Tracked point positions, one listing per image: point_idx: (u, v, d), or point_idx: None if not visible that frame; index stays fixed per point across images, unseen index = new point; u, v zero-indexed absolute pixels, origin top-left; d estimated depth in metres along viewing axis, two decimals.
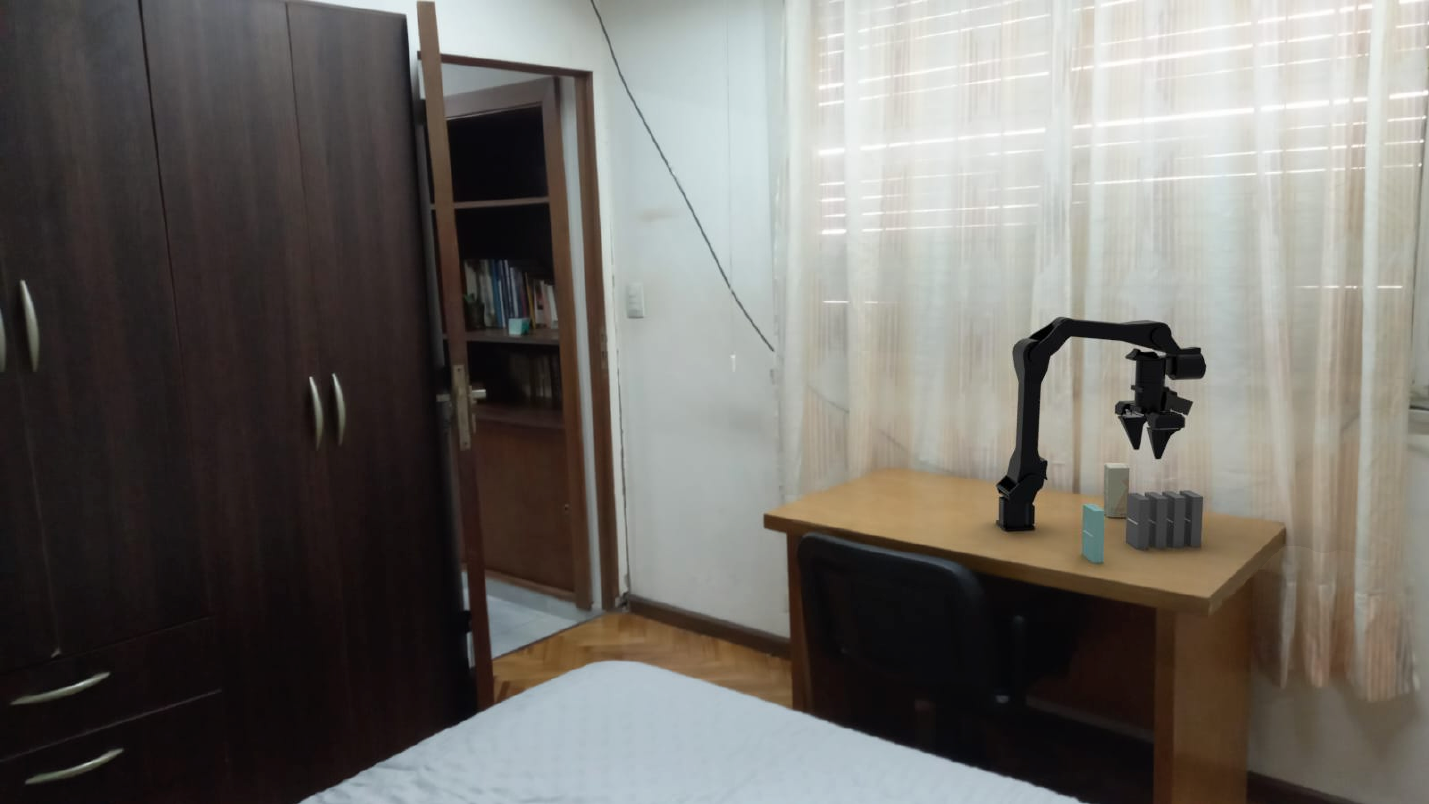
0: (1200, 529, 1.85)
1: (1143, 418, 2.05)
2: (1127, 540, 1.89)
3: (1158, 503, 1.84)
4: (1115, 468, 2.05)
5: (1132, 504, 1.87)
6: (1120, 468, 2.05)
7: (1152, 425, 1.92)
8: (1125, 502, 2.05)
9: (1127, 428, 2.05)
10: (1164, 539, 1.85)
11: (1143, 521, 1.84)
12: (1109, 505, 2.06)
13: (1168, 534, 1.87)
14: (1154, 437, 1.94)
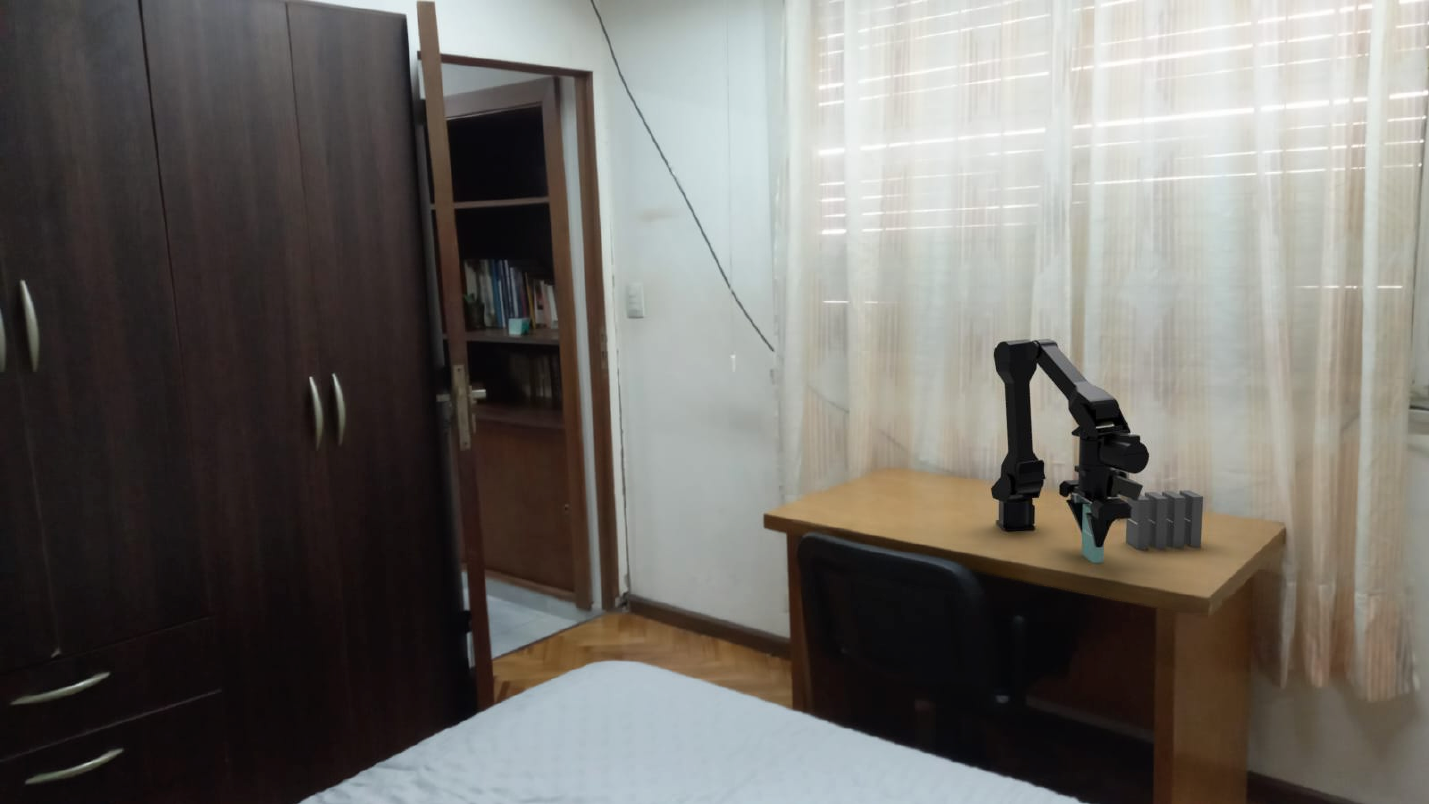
0: (1200, 529, 1.85)
1: None
2: (1127, 540, 1.89)
3: (1158, 503, 1.84)
4: None
5: (1132, 504, 1.87)
6: None
7: (1095, 515, 1.72)
8: None
9: (1076, 514, 1.83)
10: (1164, 539, 1.85)
11: (1143, 521, 1.84)
12: None
13: (1168, 534, 1.87)
14: (1094, 524, 1.76)
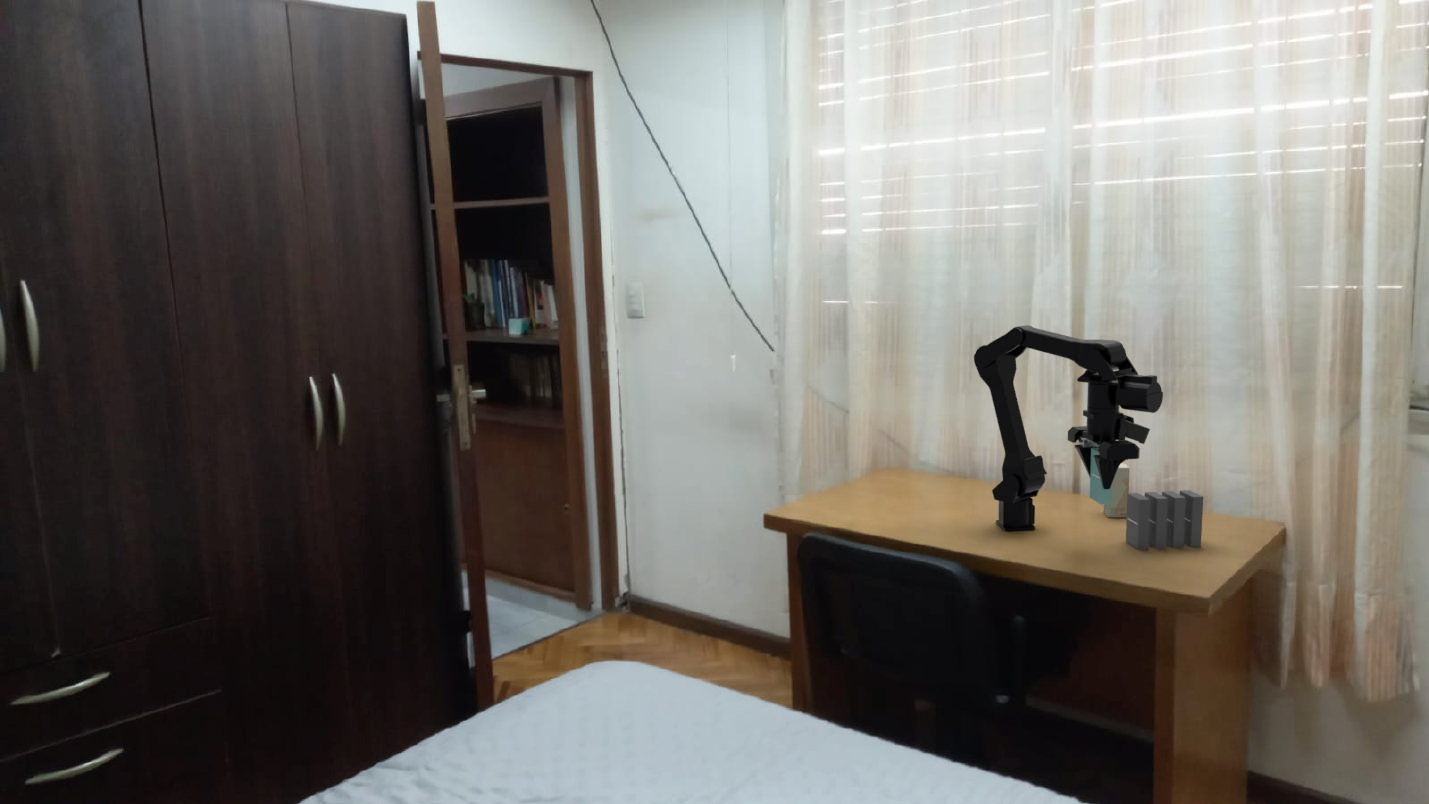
0: (1200, 529, 1.85)
1: None
2: (1127, 540, 1.89)
3: (1158, 503, 1.84)
4: None
5: (1132, 504, 1.87)
6: (1120, 468, 2.05)
7: (1104, 455, 1.77)
8: (1125, 502, 2.05)
9: (1084, 459, 1.88)
10: (1164, 539, 1.85)
11: (1143, 521, 1.84)
12: (1109, 505, 2.06)
13: (1168, 534, 1.87)
14: (1102, 466, 1.80)
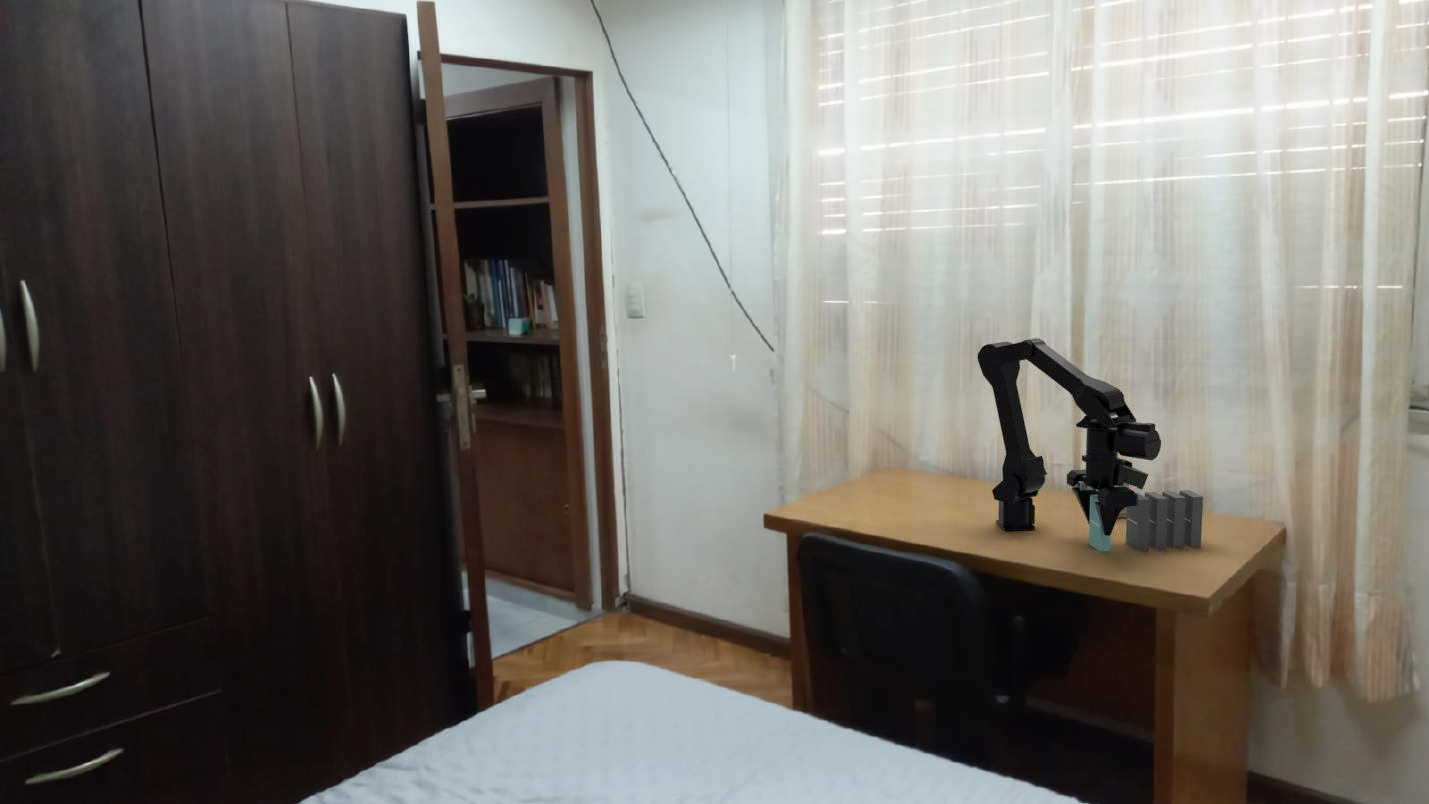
0: (1200, 529, 1.85)
1: None
2: (1127, 540, 1.89)
3: (1158, 503, 1.84)
4: None
5: None
6: None
7: (1102, 502, 1.78)
8: None
9: (1081, 502, 1.90)
10: (1164, 539, 1.85)
11: (1143, 521, 1.84)
12: None
13: (1168, 534, 1.87)
14: (1102, 513, 1.81)
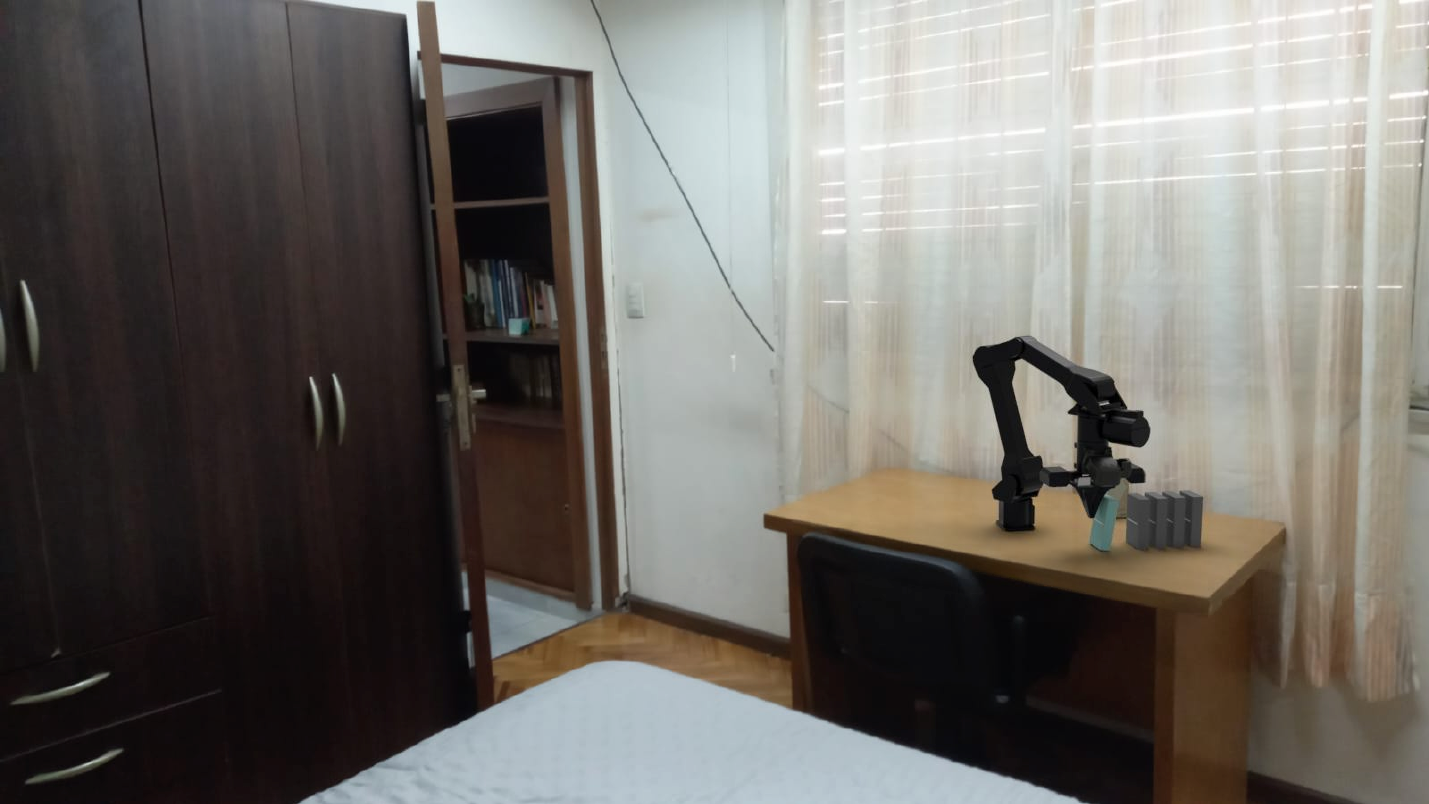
0: (1200, 529, 1.85)
1: (1098, 486, 1.84)
2: (1127, 540, 1.89)
3: (1158, 503, 1.84)
4: None
5: (1132, 504, 1.87)
6: None
7: None
8: (1125, 502, 2.05)
9: None
10: (1164, 539, 1.85)
11: (1143, 521, 1.84)
12: None
13: (1168, 534, 1.87)
14: (1077, 491, 1.87)
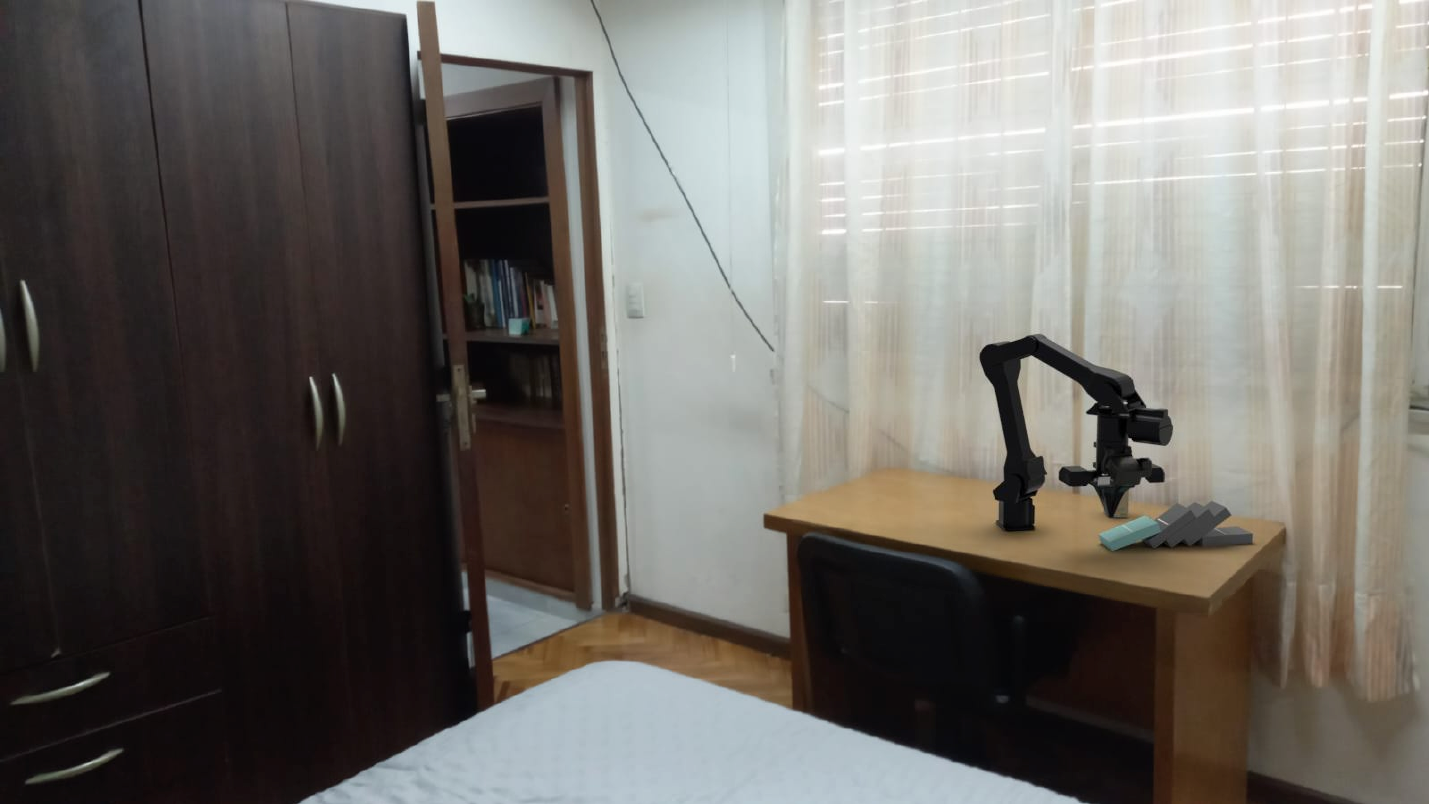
0: (1219, 544, 1.86)
1: (1118, 485, 1.84)
2: None
3: (1204, 512, 1.85)
4: None
5: (1175, 511, 1.88)
6: None
7: None
8: (1125, 502, 2.05)
9: None
10: (1178, 541, 1.85)
11: (1174, 527, 1.85)
12: None
13: None
14: (1096, 490, 1.88)
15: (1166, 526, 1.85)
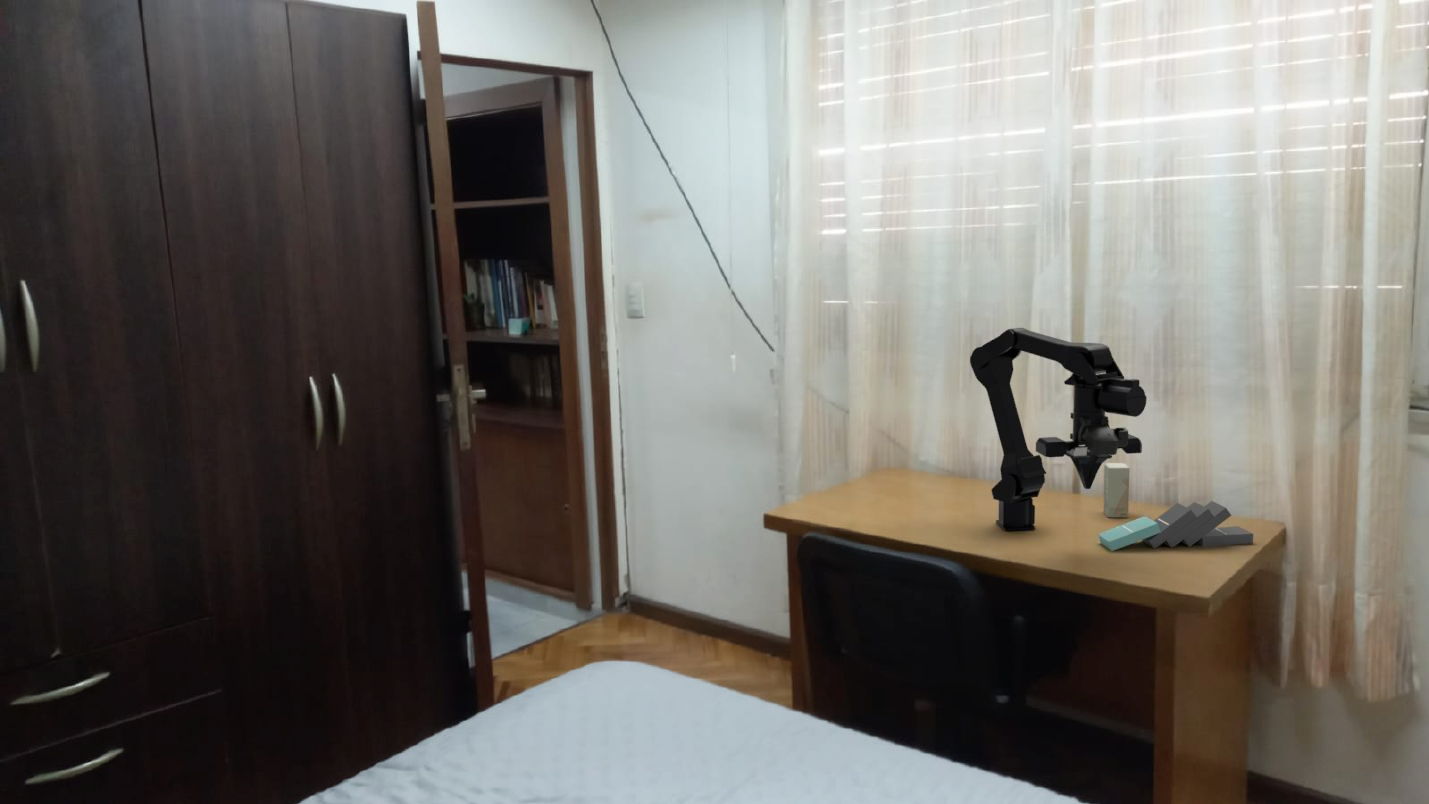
0: (1220, 544, 1.86)
1: (1095, 456, 1.83)
2: None
3: (1204, 512, 1.85)
4: (1115, 468, 2.05)
5: (1175, 511, 1.87)
6: (1120, 468, 2.05)
7: None
8: (1125, 502, 2.05)
9: None
10: (1178, 541, 1.85)
11: (1175, 527, 1.85)
12: (1109, 505, 2.06)
13: None
14: (1074, 462, 1.87)
15: (1166, 526, 1.85)
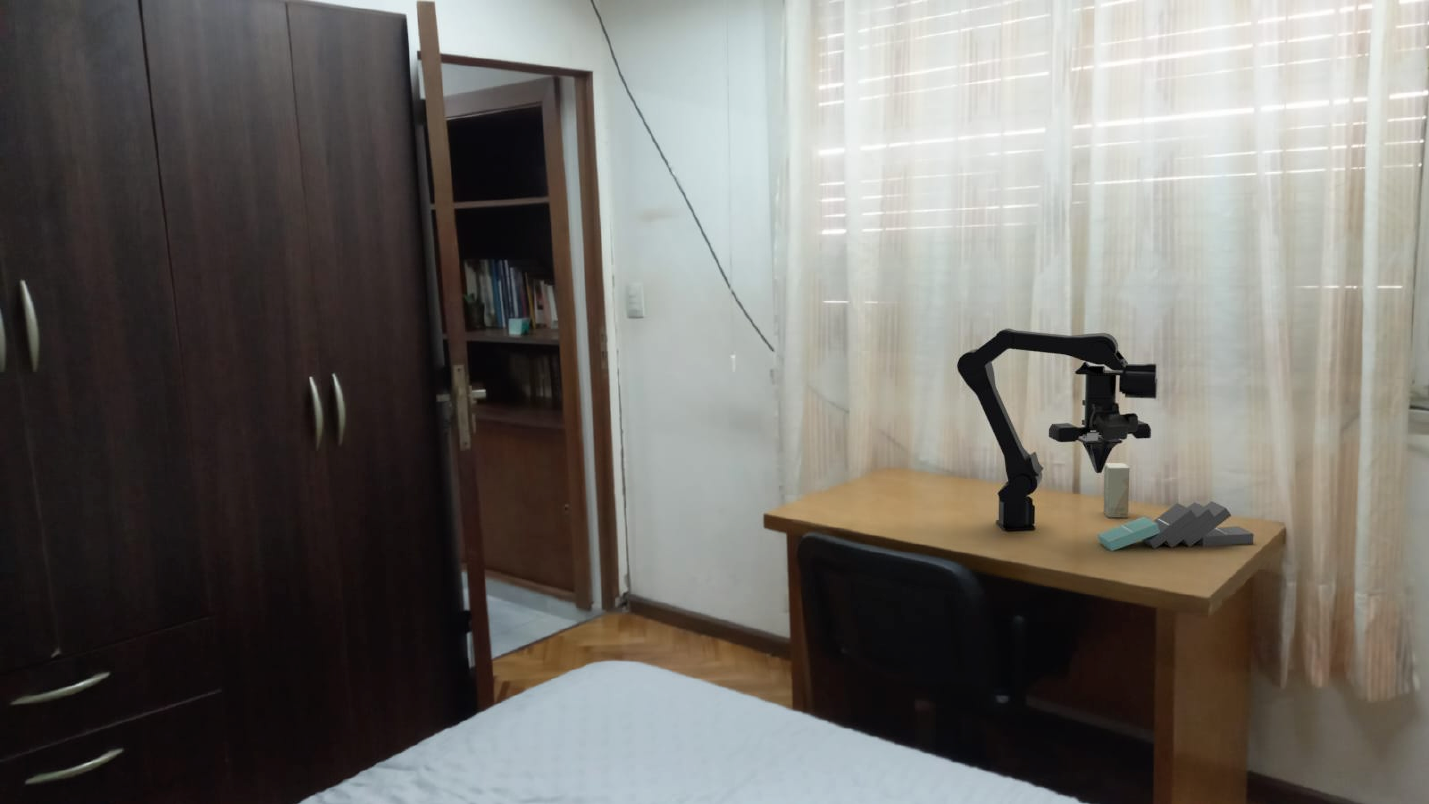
0: (1220, 544, 1.86)
1: (1106, 441, 1.91)
2: None
3: (1204, 512, 1.85)
4: (1115, 468, 2.05)
5: (1175, 511, 1.87)
6: (1120, 468, 2.05)
7: None
8: (1125, 502, 2.05)
9: None
10: (1178, 541, 1.85)
11: (1175, 527, 1.85)
12: (1109, 505, 2.06)
13: None
14: (1085, 447, 1.94)
15: (1166, 526, 1.85)
